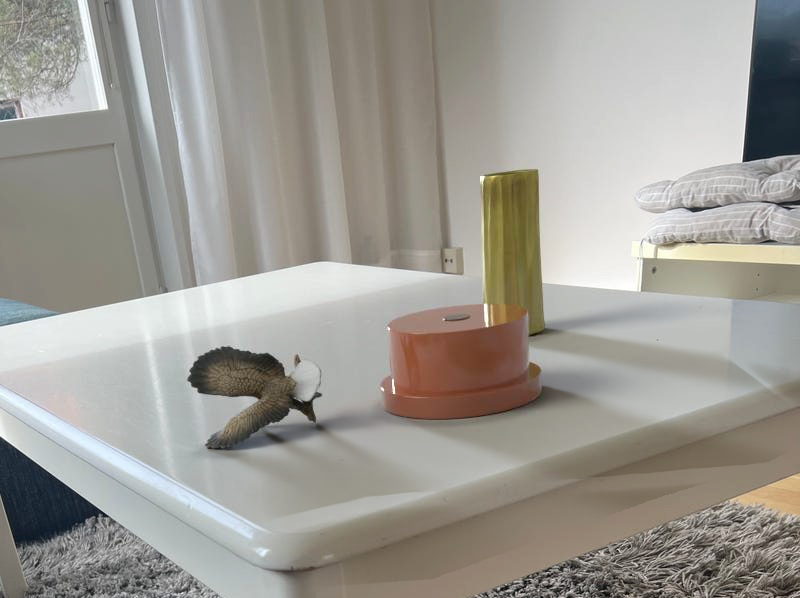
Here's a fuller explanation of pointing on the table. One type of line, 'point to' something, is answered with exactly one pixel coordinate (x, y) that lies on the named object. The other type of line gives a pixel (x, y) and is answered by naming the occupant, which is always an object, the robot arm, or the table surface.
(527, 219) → the vase
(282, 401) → the eagle figurine
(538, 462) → the table surface
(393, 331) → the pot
